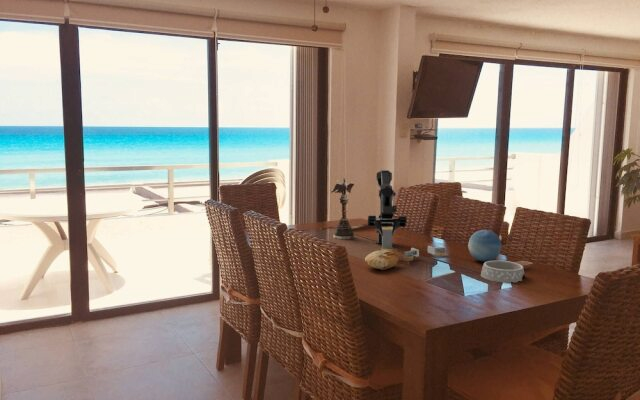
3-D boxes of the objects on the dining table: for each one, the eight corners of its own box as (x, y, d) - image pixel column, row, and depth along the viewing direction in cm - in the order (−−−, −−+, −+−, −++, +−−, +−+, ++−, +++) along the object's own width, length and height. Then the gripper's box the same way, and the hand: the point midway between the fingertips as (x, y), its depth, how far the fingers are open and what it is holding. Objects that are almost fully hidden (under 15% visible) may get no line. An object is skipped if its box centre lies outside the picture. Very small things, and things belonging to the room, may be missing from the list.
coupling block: (381, 253, 268) (381, 226, 267) (391, 253, 267) (392, 226, 267) (381, 254, 263) (382, 227, 262) (392, 254, 262) (392, 227, 262)
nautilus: (405, 264, 257) (414, 274, 243) (360, 262, 254) (367, 273, 239) (407, 248, 256) (416, 257, 241) (362, 246, 253) (369, 255, 238)
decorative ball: (464, 262, 257) (465, 231, 255) (471, 256, 270) (472, 226, 268) (497, 266, 250) (499, 234, 248) (503, 259, 264) (504, 228, 261)
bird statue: (327, 234, 323) (327, 174, 319) (348, 233, 326) (349, 174, 321) (333, 239, 307) (333, 177, 302) (355, 238, 310) (356, 177, 305)
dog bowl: (527, 274, 238) (528, 262, 238) (519, 285, 223) (520, 272, 222) (487, 269, 247) (488, 257, 246) (476, 279, 231) (477, 266, 231)
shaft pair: (400, 258, 265) (400, 249, 264) (439, 253, 275) (439, 244, 274) (407, 261, 260) (407, 251, 259) (446, 256, 270) (447, 246, 269)
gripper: (368, 199, 266) (368, 225, 257) (406, 199, 265) (408, 226, 256) (367, 212, 275) (367, 238, 266) (405, 212, 274) (406, 239, 265)
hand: (387, 235), depth 263 cm, fingers closed on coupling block, 5 cm apart
